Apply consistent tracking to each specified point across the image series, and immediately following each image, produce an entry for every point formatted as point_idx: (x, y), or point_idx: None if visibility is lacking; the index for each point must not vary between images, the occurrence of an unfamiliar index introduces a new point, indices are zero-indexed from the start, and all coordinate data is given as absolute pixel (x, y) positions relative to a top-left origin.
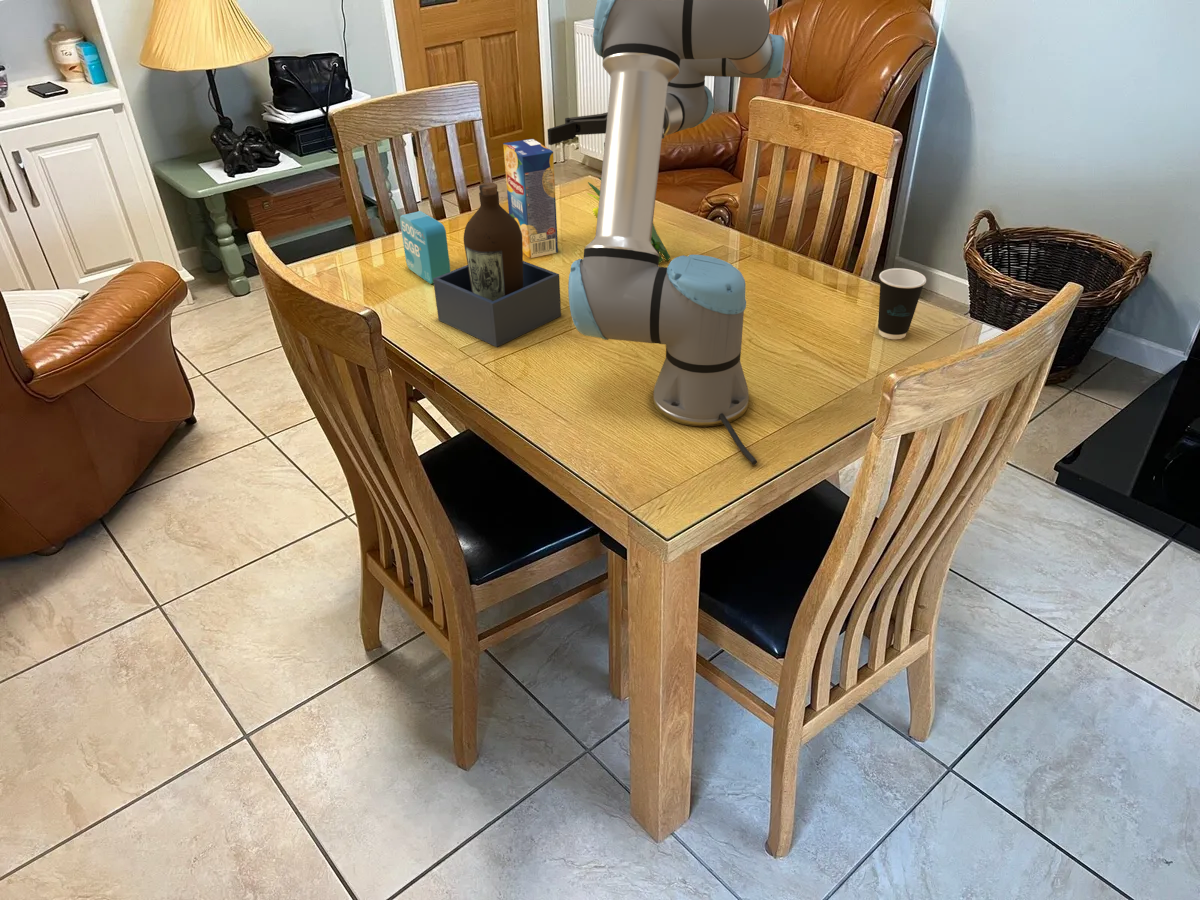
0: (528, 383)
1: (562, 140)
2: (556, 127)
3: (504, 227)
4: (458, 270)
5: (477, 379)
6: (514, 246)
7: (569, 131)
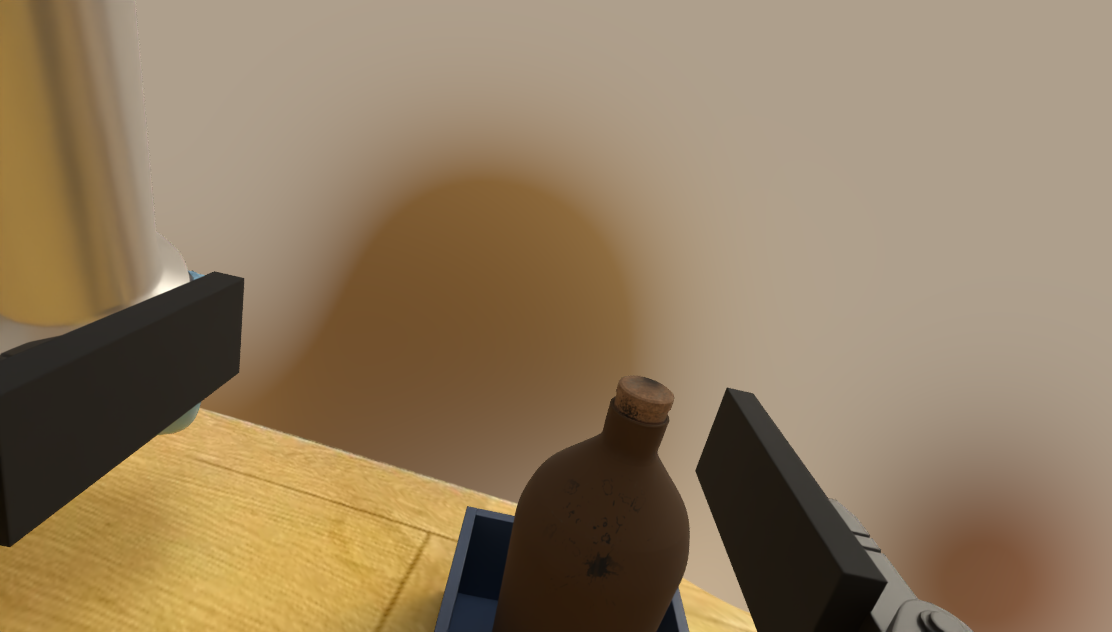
0: (313, 515)
1: (726, 538)
2: (757, 422)
3: (548, 465)
4: (672, 602)
5: (409, 499)
6: (515, 518)
7: (775, 560)
